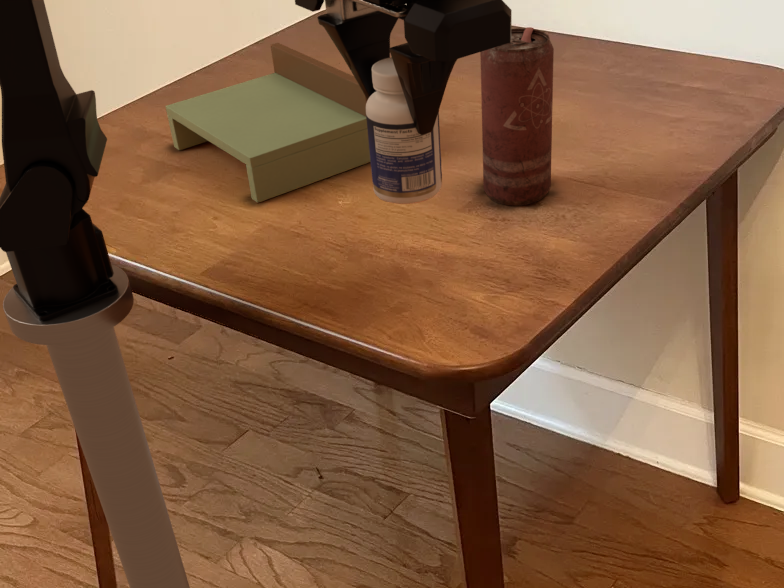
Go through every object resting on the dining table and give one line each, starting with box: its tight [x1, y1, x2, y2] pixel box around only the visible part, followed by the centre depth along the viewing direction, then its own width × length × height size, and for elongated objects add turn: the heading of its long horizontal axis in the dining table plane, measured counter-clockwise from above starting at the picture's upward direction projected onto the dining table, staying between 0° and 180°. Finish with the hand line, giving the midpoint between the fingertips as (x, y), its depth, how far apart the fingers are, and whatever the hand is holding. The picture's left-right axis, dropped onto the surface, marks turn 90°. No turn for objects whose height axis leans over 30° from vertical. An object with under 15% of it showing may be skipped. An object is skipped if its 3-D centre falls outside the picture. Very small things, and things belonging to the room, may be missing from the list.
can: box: [479, 26, 555, 207], centre depth 90 cm, size 6×6×14 cm
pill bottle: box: [366, 56, 443, 205], centre depth 77 cm, size 5×5×10 cm
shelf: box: [165, 42, 371, 204], centre depth 103 cm, size 14×18×8 cm
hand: (403, 122), depth 76 cm, fingers closed on pill bottle, 5 cm apart
